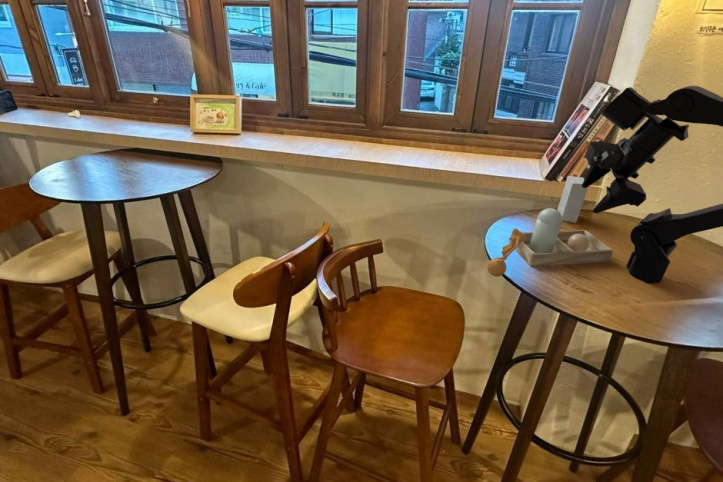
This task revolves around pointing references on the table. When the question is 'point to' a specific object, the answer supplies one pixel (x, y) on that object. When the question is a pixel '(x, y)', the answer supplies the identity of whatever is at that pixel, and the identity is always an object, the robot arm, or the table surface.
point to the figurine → (505, 254)
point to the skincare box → (572, 199)
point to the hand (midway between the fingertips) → (588, 199)
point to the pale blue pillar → (546, 231)
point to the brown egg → (578, 242)
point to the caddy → (564, 251)
